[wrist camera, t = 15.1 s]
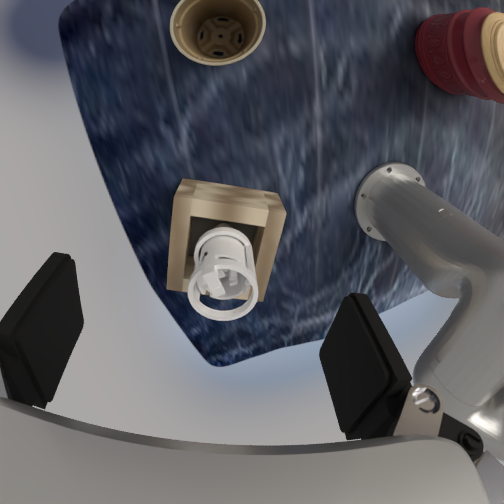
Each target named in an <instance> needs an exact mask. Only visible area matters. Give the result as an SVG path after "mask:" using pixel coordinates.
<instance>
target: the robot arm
mask: <svg viewBox="0 0 504 504" xmlns="http://www.w3.org/2000/svg"><path fill="white" fill-rule="evenodd" d="M387 168H388V169H387ZM354 210H355V216H356V219H357V221H358V224H359V225H360V227H361V228H362V229H363V231H364V232H365V233H366V234H367V235H369V236H370V237H372V238H374V239H376V240H380V241H387V242H388V243H389V244H390V246H391V247H392V248H393V249H394V250H395V251H396V252H397V254H398V255H399V256H400V257H401V258H402V259H403V261H404V262H405V263H406V264H407V265H408V267H409V268H410V269H411V270H412V271H413V273H414V274H415V275H416V276H417V277H418V278H419V280H420V281H421V282H422V283H423V284H424V286H425V287H426V288H427V289H428V290H430V291H431V292H432V293H434V294H436V295H438V296H441V297H445V298H460V299H459V302H458V303H457V305H456V306H455V308H454V310H453V311H452V313H451V315H450V317H449V318H448V320H447V321H446V323H445V324H444V325H443V327H442V328H441V330H440V331H439V332H438V333H437V335H436V336H435V337H434V339H433V340H432V341H431V343H430V344H429V345H428V347H427V348H426V349H425V350H424V352H423V353H422V354H421V356H420V357H419V359H418V361H417V363H416V365H415V367H414V371H413V383H414V386H412V385H411V383H410V381H411V380H412V377H411V375H410V373H409V371H408V369H407V367H406V365H405V363H404V361H403V359H402V357H401V355H400V353H399V352H398V350H397V348H396V346H395V344H394V342H393V340H392V338H391V337H390V335H389V333H388V331H387V329H386V328H385V326H384V324H383V322H382V321H381V319H380V317H379V315H378V313H377V311H376V310H375V308H374V306H373V304H372V303H371V301H370V299H369V297H368V296H367V295H366V294H360V293H350V294H349V295H348V296H346V297H344V299H343V301H342V303H341V305H340V308H339V310H338V312H337V314H336V317H335V319H334V321H333V323H332V325H331V327H330V329H329V332H328V334H327V336H326V338H325V340H324V342H323V344H322V347H321V349H320V353H319V356H320V361H321V364H322V367H323V371H324V374H325V377H326V381H327V384H328V387H329V391H330V395H331V398H332V402H333V405H334V408H335V412H336V416H337V419H338V423H339V426H340V430H341V431H342V432H343V433H345V435H346V439H347V440H353V439H360V438H361V440H356V441H347V442H335V443H324V444H309V445H284V446H253V445H226V444H211V443H198V442H189V441H180V440H171V439H164V438H157V437H151V436H145V435H140V434H134V433H128V432H124V431H118V430H113V429H109V428H105V427H101V426H96V425H93V424H88V423H85V422H81V421H77V420H74V419H70V418H67V417H63V416H60V415H56V414H53V413H50V412H46V411H43V410H40V409H37V408H34V407H32V406H33V405H34V406H37V407H40V408H43V409H45V408H46V405H47V402H51V401H52V400H53V397H54V395H55V392H56V390H57V387H58V384H59V382H60V379H61V377H62V375H63V372H64V370H65V367H66V365H67V363H68V360H69V357H70V355H71V353H72V351H73V349H74V346H75V344H76V342H77V340H78V338H79V335H80V333H81V331H82V328H83V324H84V319H83V314H82V308H81V302H80V295H79V289H78V282H77V274H76V266H75V261H74V260H73V259H71V257H70V255H69V254H64V253H58V252H54V253H53V254H52V255H51V256H50V257H49V258H48V260H47V261H46V262H45V263H44V264H43V265H42V267H41V268H40V269H39V270H38V272H37V273H36V274H35V275H34V277H33V278H32V279H31V280H30V282H29V283H28V284H27V286H26V287H25V288H24V290H23V291H22V292H21V293H20V295H19V296H18V298H17V299H16V300H15V302H14V303H13V304H12V306H11V307H10V308H9V310H8V311H7V313H6V314H5V316H4V317H3V319H2V320H1V322H0V504H504V466H503V465H502V464H501V463H500V462H499V461H498V460H497V459H499V460H501V461H504V240H502V239H500V238H499V237H497V236H495V235H494V234H492V233H491V232H490V231H488V230H487V229H485V228H484V227H482V226H481V225H479V224H478V223H477V222H475V221H474V220H473V219H471V218H470V217H468V216H467V215H466V214H464V213H463V212H461V211H460V210H459V209H457V208H456V207H454V206H453V205H451V204H450V203H448V202H447V201H445V200H444V199H442V198H441V197H439V196H438V195H436V194H435V193H433V192H432V191H430V190H429V189H427V188H426V186H425V183H424V181H423V179H422V177H421V176H420V174H419V173H418V172H417V171H416V170H415V169H413V168H412V167H410V166H408V165H406V164H403V163H399V162H390V163H385V164H382V165H380V166H378V167H376V168H375V169H373V170H372V171H371V172H370V173H368V174H367V176H366V177H365V178H364V179H363V181H362V182H361V184H360V186H359V188H358V190H357V193H356V197H355V203H354ZM367 227H368V228H367ZM483 450H485V451H484V452H483ZM496 458H497V459H496Z"/></svg>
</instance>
